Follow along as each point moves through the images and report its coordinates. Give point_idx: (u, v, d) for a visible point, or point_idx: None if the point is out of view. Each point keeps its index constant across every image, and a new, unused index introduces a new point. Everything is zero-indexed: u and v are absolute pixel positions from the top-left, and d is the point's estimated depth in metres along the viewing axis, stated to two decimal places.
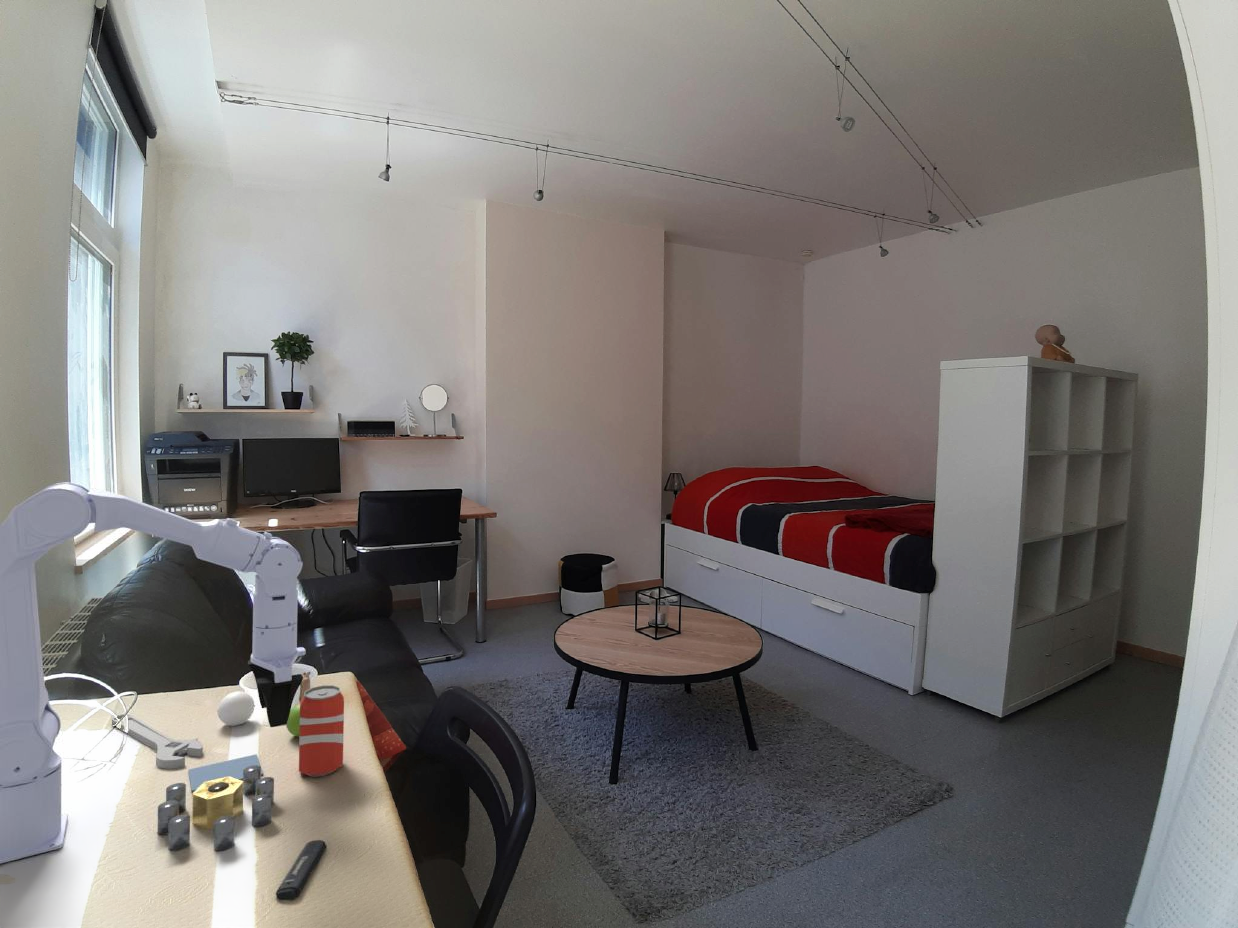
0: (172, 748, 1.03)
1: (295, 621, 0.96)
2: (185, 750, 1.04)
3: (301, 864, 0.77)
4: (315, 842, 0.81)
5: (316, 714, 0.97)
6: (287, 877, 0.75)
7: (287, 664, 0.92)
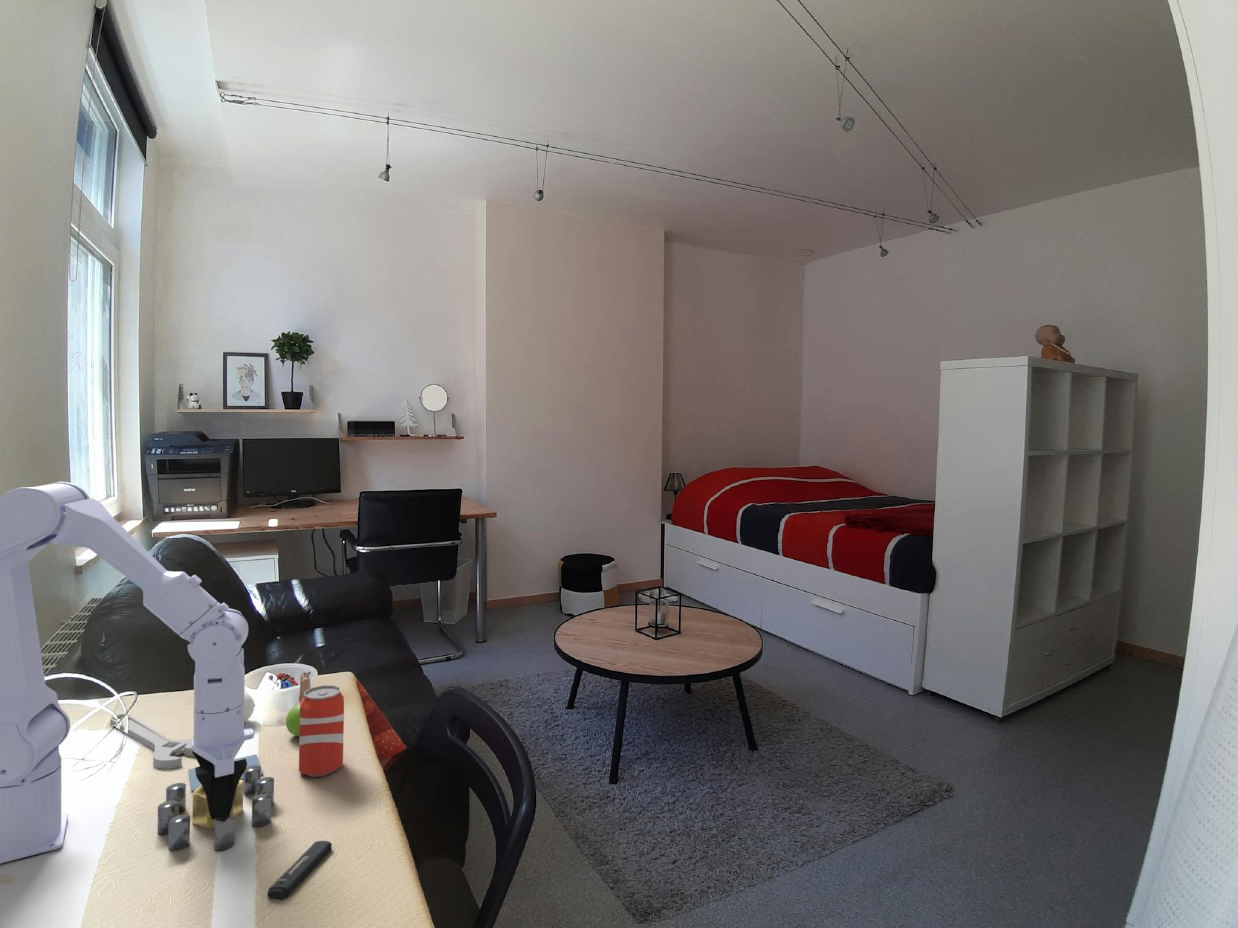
0: (169, 748, 1.03)
1: (237, 705, 0.86)
2: (182, 750, 1.04)
3: (299, 864, 0.77)
4: (321, 842, 0.81)
5: (316, 714, 0.97)
6: (282, 876, 0.75)
7: (230, 753, 0.84)
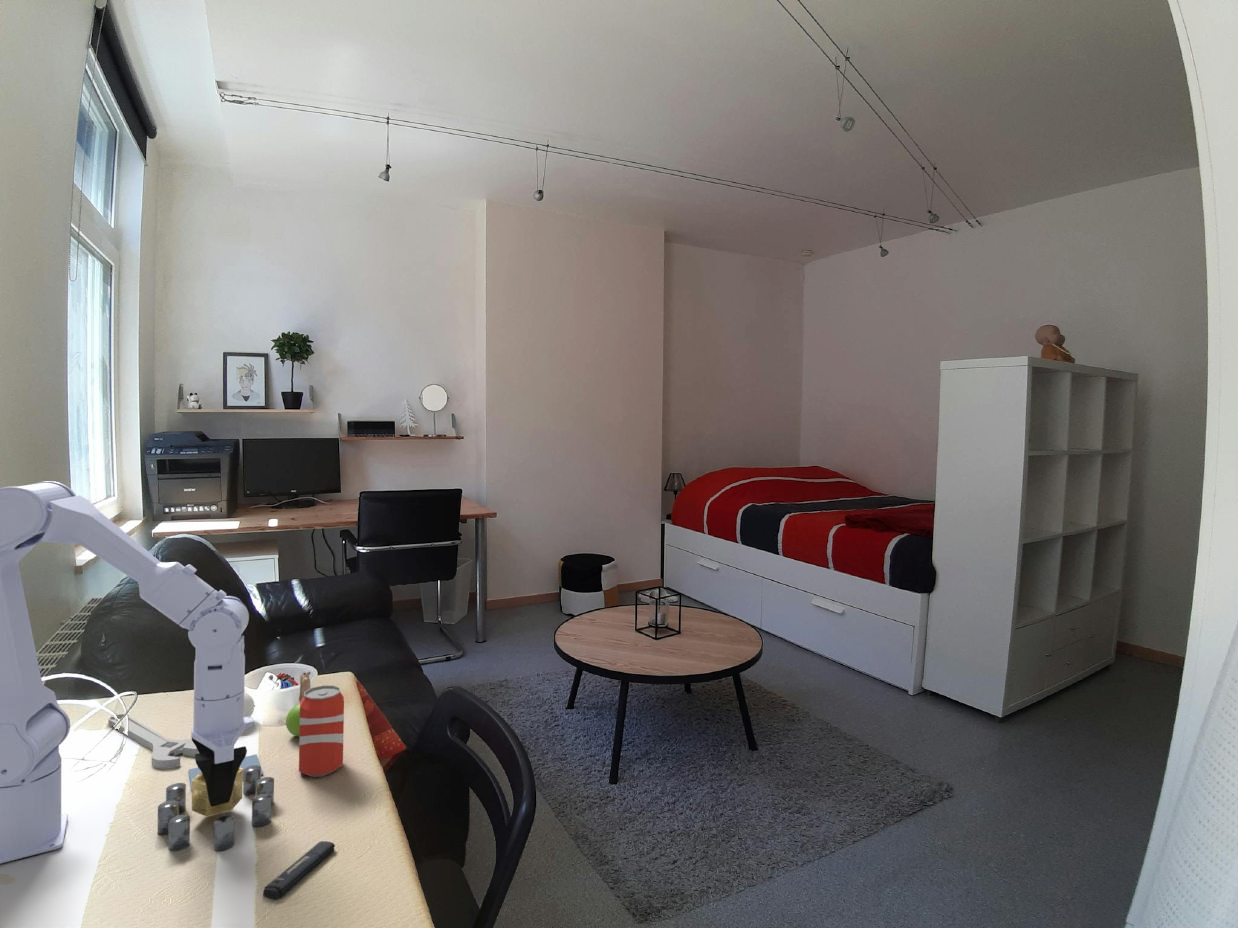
0: (168, 748, 1.03)
1: (237, 692, 0.86)
2: (181, 750, 1.04)
3: (298, 864, 0.77)
4: (324, 843, 0.81)
5: (316, 714, 0.97)
6: (280, 875, 0.75)
7: (230, 740, 0.84)
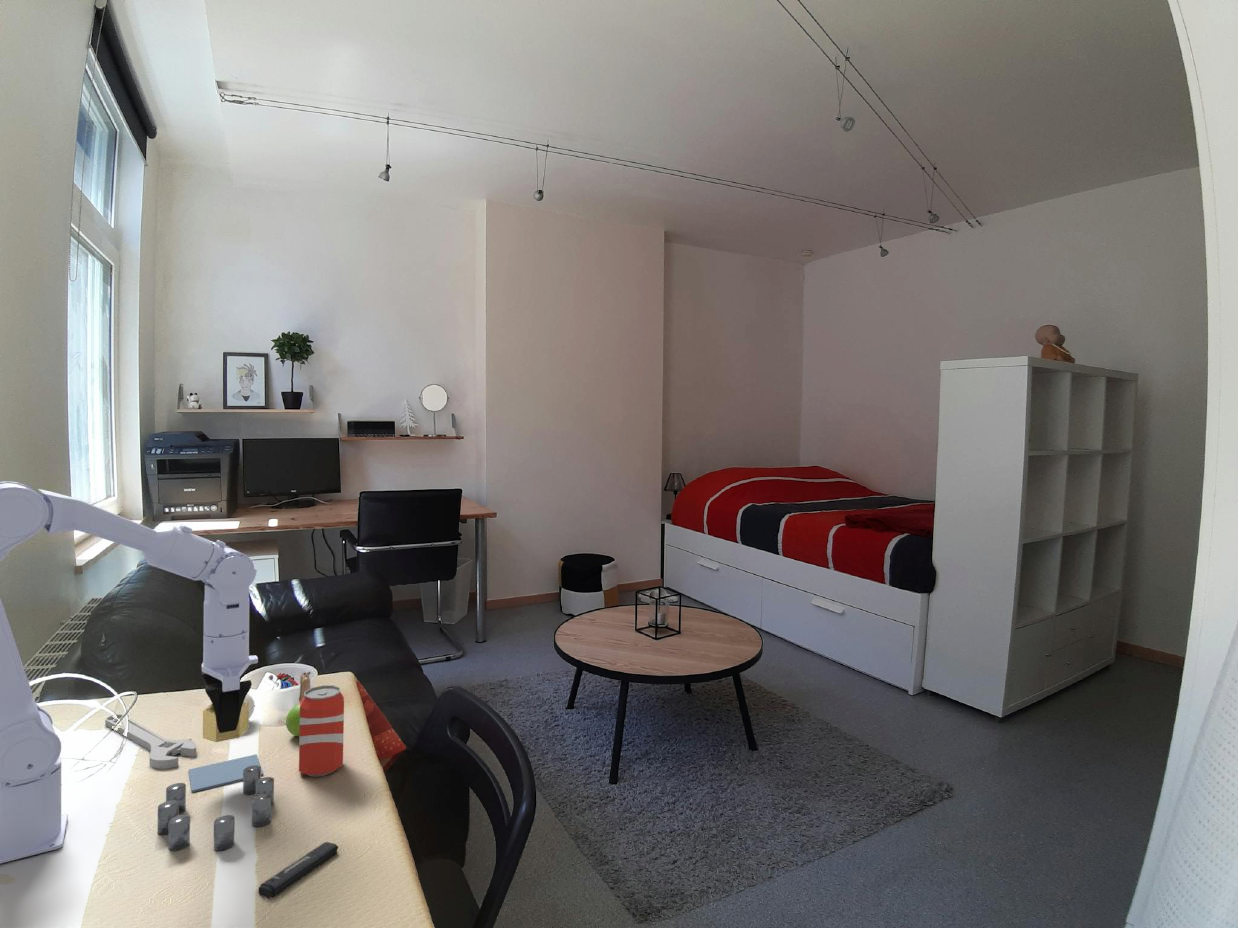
0: (166, 748, 1.03)
1: (248, 628, 0.96)
2: (179, 750, 1.04)
3: (297, 864, 0.77)
4: (327, 844, 0.81)
5: (316, 714, 0.97)
6: (278, 873, 0.75)
7: (236, 673, 0.92)
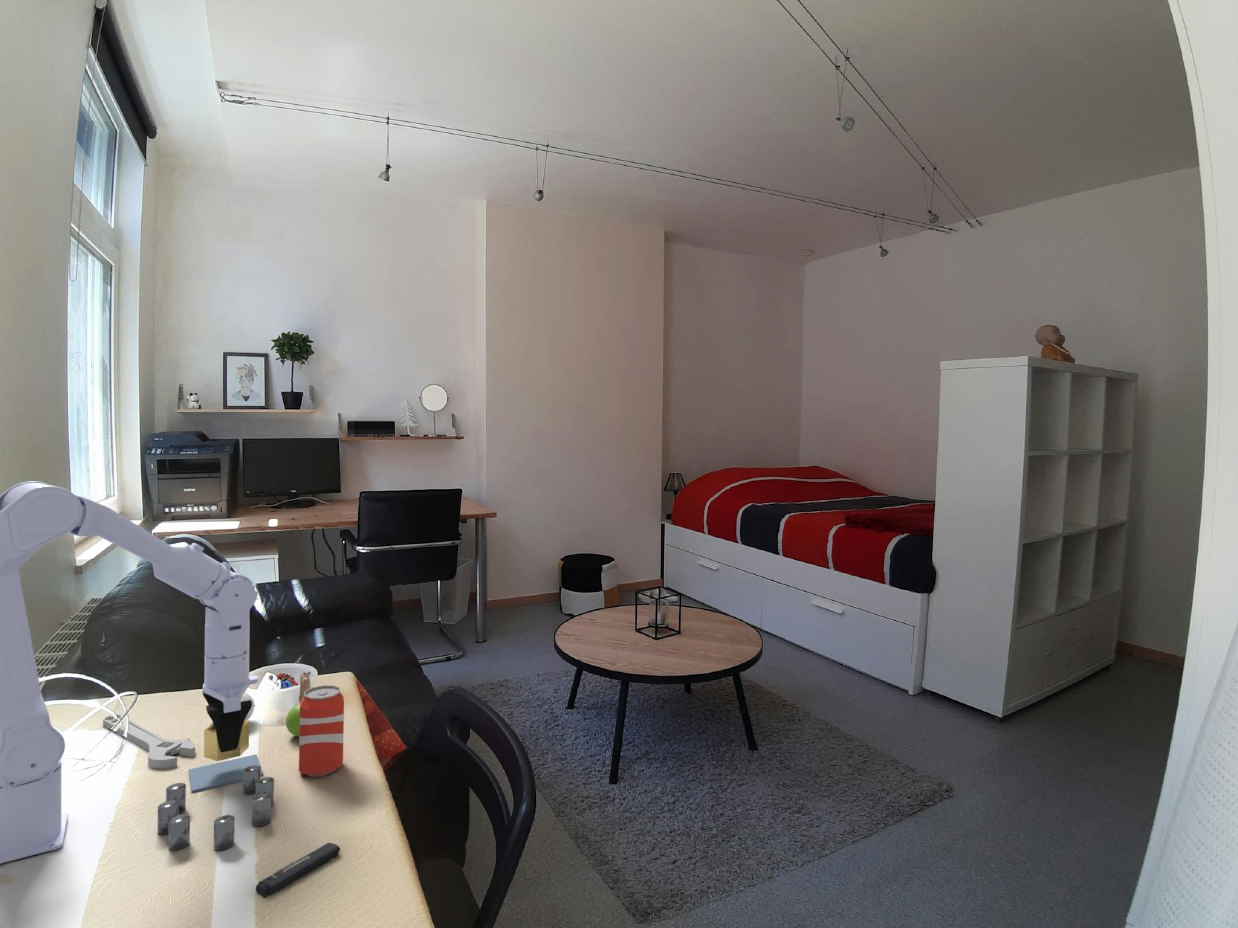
0: (164, 748, 1.03)
1: (248, 649, 0.99)
2: (177, 750, 1.04)
3: (297, 863, 0.77)
4: (330, 845, 0.80)
5: (316, 714, 0.97)
6: (277, 872, 0.76)
7: (237, 693, 0.94)
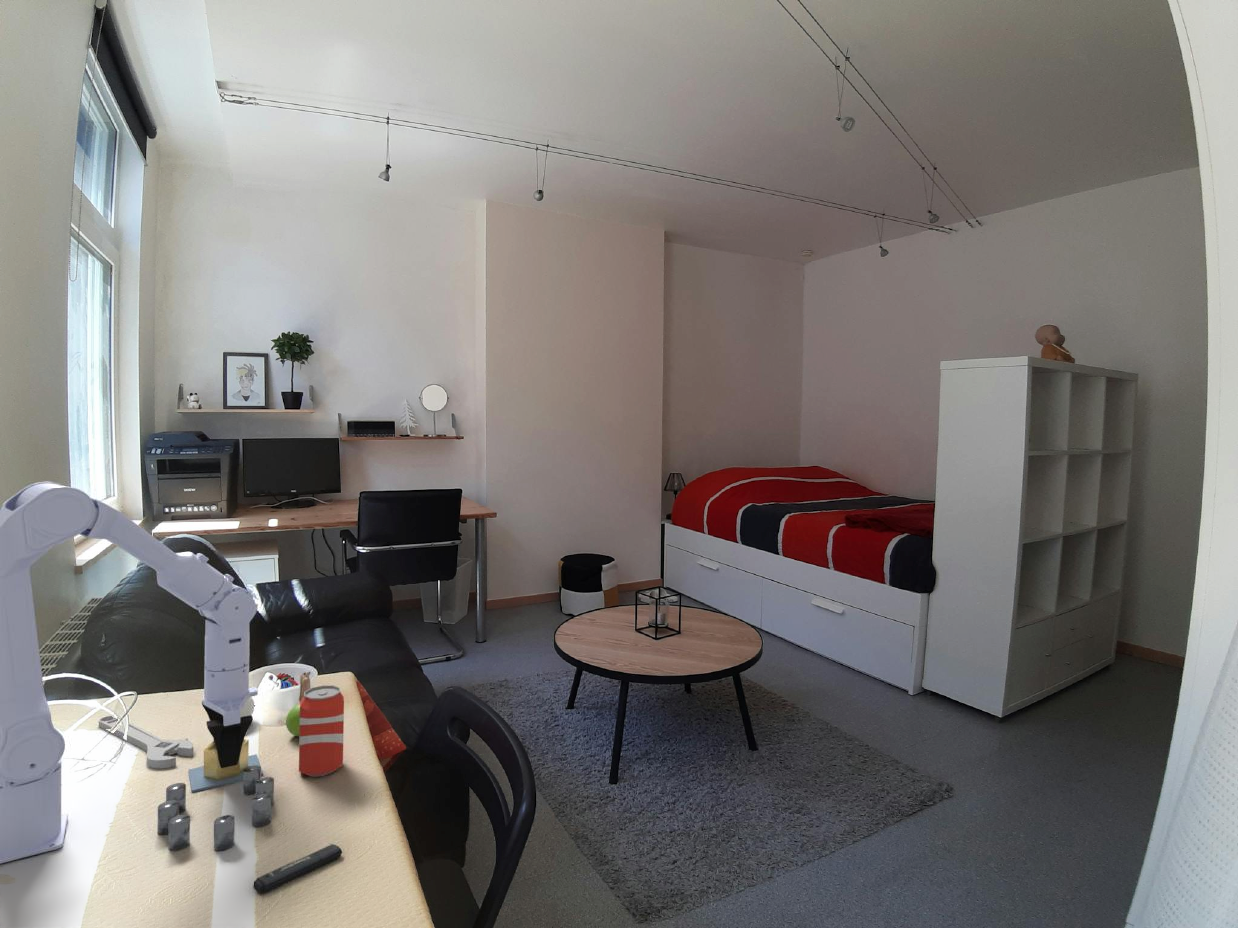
0: (162, 748, 1.03)
1: (248, 661, 0.99)
2: (175, 750, 1.04)
3: (296, 863, 0.77)
4: (332, 847, 0.80)
5: (316, 714, 0.97)
6: (276, 869, 0.76)
7: (237, 706, 0.95)
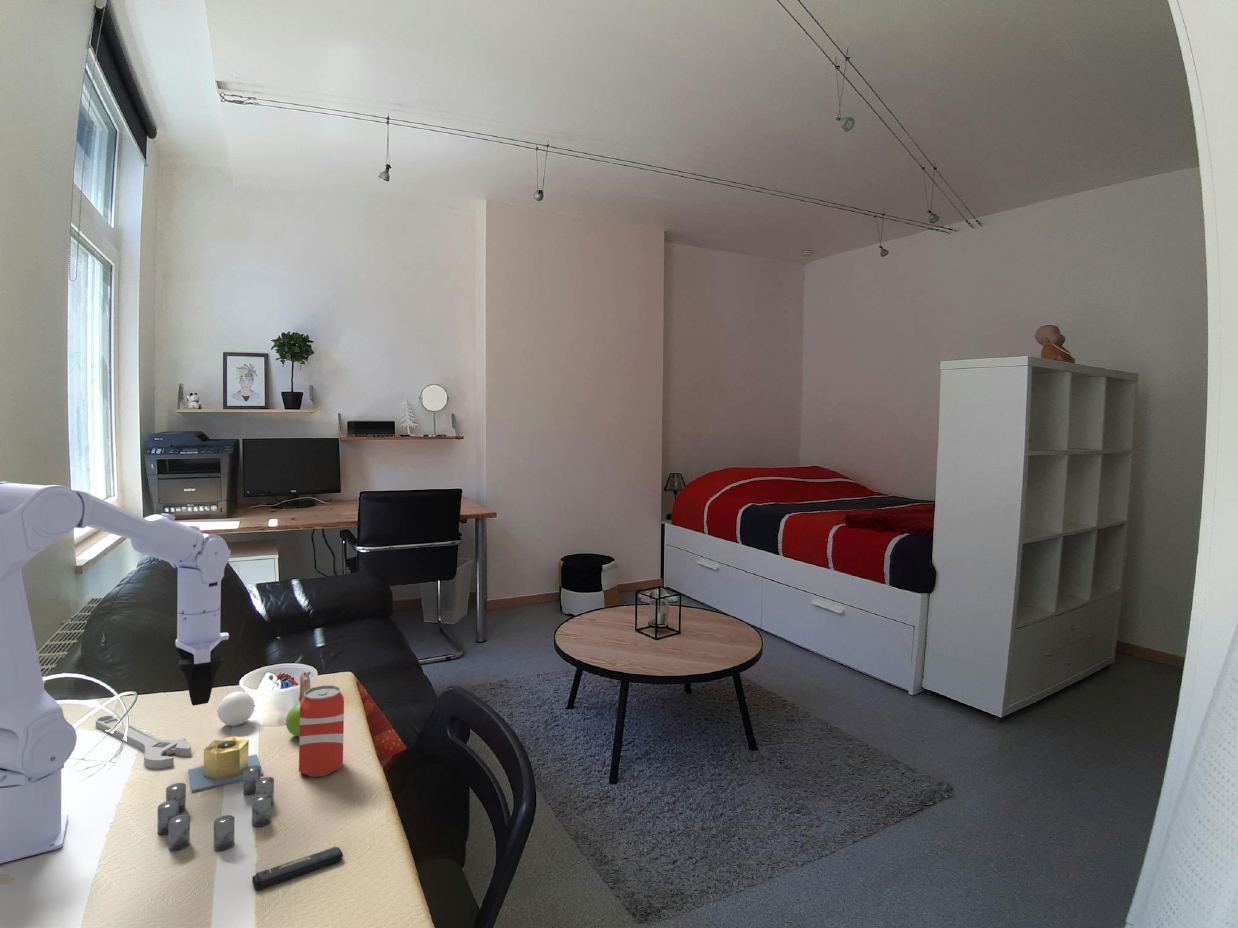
0: (160, 748, 1.03)
1: None
2: (173, 750, 1.03)
3: (295, 862, 0.77)
4: (334, 850, 0.80)
5: (316, 714, 0.97)
6: None
7: (207, 647, 1.00)
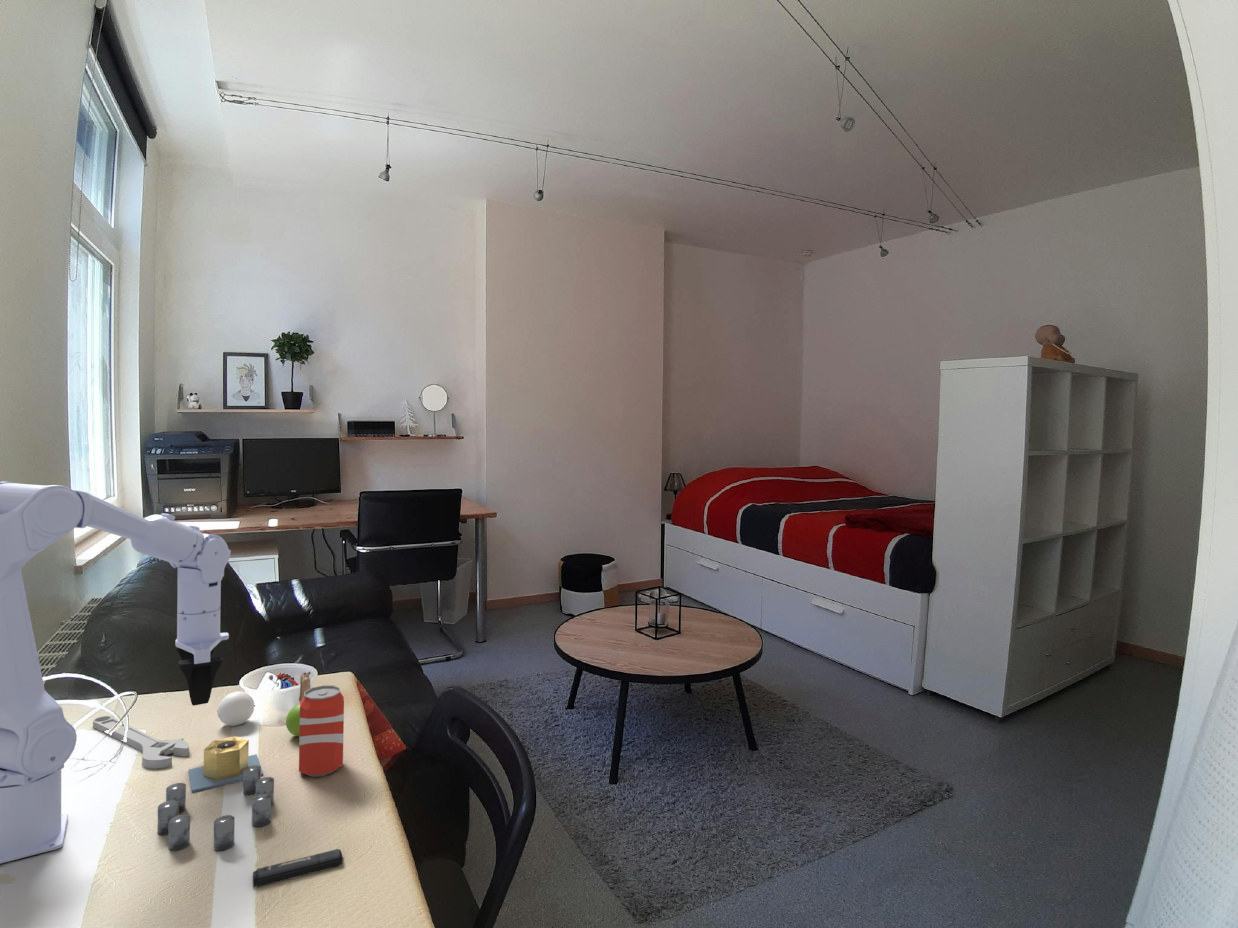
0: (158, 748, 1.03)
1: (219, 605, 1.05)
2: (171, 750, 1.03)
3: (295, 861, 0.77)
4: (334, 852, 0.79)
5: (316, 714, 0.97)
6: (276, 864, 0.77)
7: (207, 647, 1.00)
